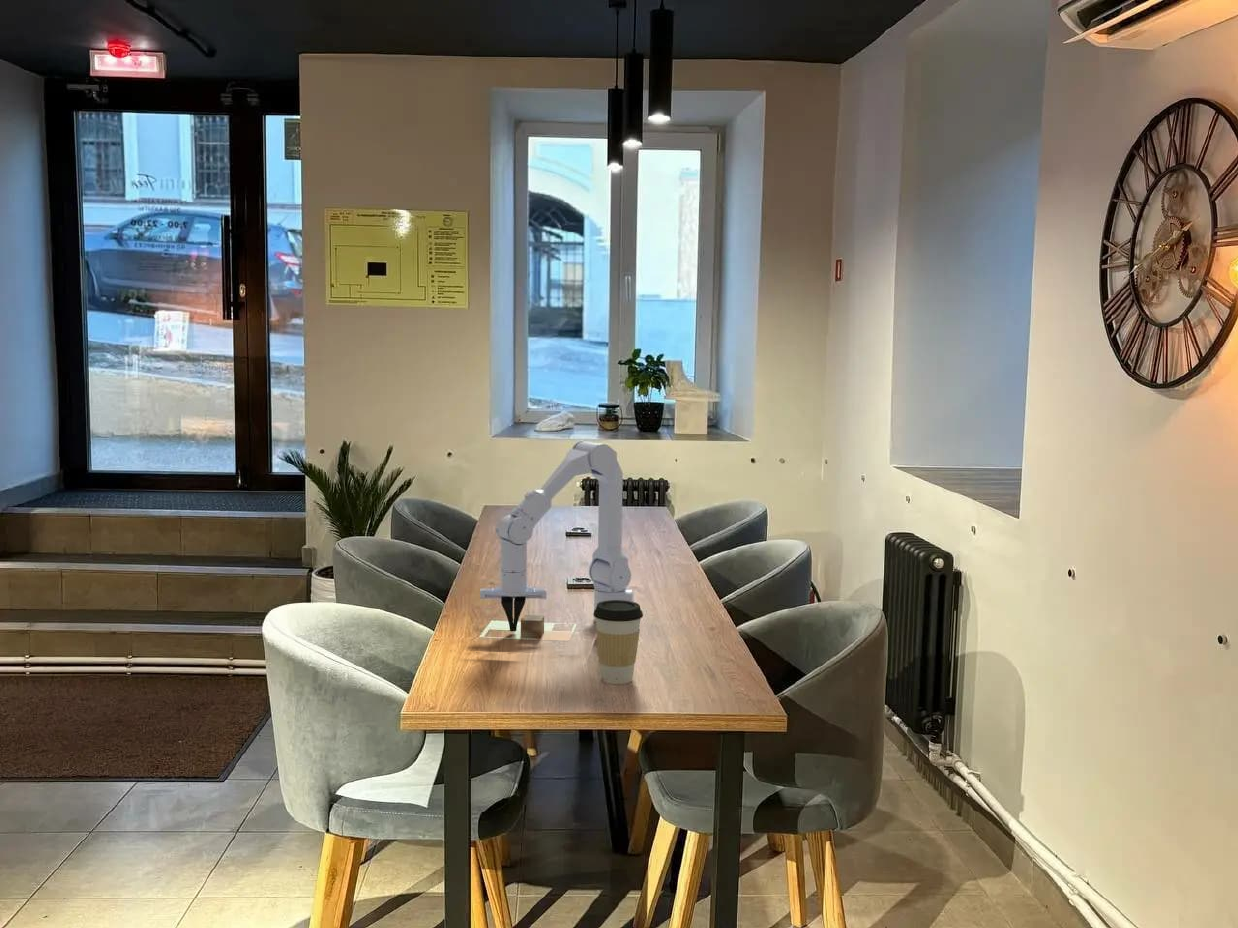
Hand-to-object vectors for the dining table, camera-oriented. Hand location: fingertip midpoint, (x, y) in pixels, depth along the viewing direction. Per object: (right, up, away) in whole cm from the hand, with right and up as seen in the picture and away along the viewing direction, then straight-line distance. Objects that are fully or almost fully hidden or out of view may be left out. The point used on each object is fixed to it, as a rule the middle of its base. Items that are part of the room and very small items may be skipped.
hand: (513, 630), depth 235 cm
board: (+3, -2, +4) cm, 5 cm away
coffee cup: (+23, -6, -25) cm, 34 cm away
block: (+4, -1, -1) cm, 5 cm away
